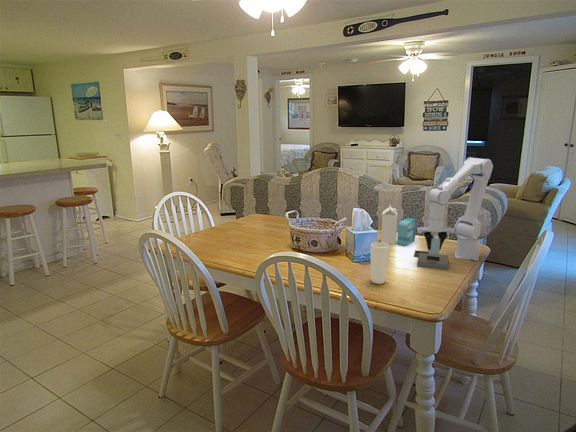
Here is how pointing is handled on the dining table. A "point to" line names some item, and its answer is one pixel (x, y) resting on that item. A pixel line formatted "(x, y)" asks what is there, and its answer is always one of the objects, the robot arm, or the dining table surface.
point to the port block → (433, 261)
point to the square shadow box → (418, 253)
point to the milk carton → (389, 226)
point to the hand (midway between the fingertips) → (433, 249)
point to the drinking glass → (379, 262)
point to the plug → (434, 245)
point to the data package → (406, 231)
